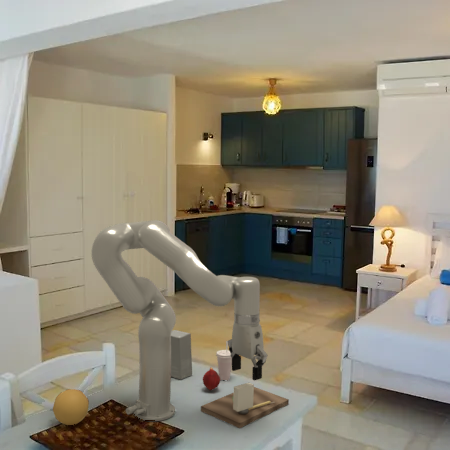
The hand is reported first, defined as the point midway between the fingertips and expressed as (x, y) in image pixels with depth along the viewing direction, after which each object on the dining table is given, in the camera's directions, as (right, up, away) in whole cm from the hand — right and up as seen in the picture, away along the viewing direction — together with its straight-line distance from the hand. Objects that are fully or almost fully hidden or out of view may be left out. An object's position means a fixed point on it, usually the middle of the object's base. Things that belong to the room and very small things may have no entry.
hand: (246, 374), depth 165 cm
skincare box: (-24, -10, +34) cm, 43 cm away
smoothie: (-7, -11, +32) cm, 34 cm away
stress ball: (-51, -13, -6) cm, 53 cm away
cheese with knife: (+2, -11, +4) cm, 12 cm away
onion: (-11, -11, +21) cm, 27 cm away
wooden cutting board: (0, -13, +8) cm, 15 cm away
